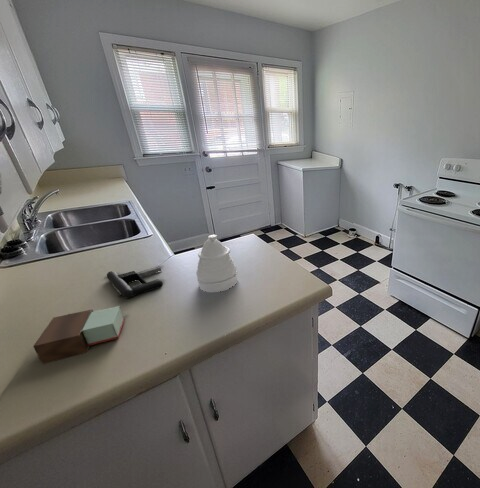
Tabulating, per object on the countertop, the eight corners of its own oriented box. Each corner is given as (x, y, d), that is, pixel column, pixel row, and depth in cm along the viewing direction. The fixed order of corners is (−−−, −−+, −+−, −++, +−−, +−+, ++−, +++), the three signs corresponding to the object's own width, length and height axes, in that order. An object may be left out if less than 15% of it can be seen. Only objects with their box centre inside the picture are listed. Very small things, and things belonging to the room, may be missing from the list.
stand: (42, 363, 61) (32, 346, 59) (61, 333, 70) (53, 317, 68) (86, 352, 64) (78, 335, 62) (98, 324, 74) (92, 309, 72)
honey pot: (244, 283, 93) (237, 235, 86) (205, 297, 86) (195, 245, 79) (230, 269, 103) (223, 225, 96) (194, 280, 95) (184, 233, 88)
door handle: (152, 260, 105) (101, 273, 93) (174, 276, 93) (119, 294, 81) (154, 267, 106) (103, 281, 94) (176, 285, 94) (121, 303, 83)
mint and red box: (113, 323, 66) (118, 338, 68) (119, 305, 73) (124, 319, 75) (81, 331, 64) (87, 346, 65) (91, 311, 70) (97, 325, 72)
